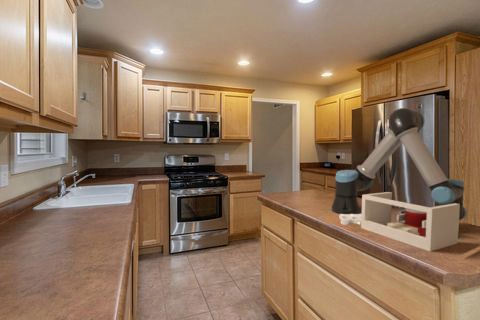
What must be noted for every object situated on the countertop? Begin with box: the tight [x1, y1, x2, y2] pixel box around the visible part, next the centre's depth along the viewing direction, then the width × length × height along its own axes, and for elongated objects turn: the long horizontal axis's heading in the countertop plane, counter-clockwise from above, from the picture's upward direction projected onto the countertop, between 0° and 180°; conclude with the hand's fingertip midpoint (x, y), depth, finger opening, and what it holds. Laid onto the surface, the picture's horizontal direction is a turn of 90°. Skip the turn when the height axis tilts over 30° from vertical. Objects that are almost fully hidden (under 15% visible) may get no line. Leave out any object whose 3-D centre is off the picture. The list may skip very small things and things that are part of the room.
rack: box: [360, 191, 460, 252], centre depth 104 cm, size 28×18×16 cm, turn 26°
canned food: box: [404, 208, 427, 237], centre depth 107 cm, size 8×8×11 cm
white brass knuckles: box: [338, 213, 362, 226], centre depth 125 cm, size 3×18×15 cm
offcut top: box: [386, 221, 418, 234], centre depth 103 cm, size 9×6×2 cm, turn 20°
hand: (409, 221), depth 105 cm, fingers open, 9 cm apart
